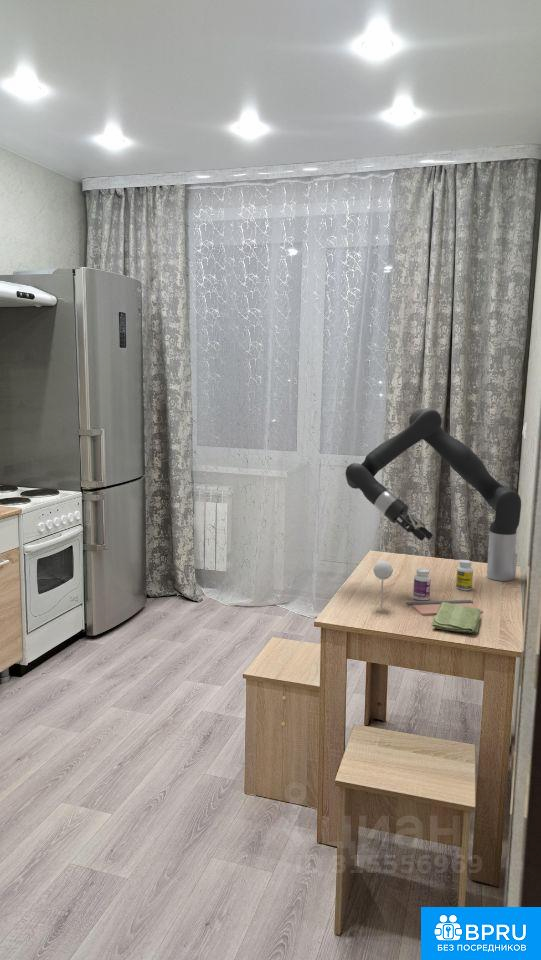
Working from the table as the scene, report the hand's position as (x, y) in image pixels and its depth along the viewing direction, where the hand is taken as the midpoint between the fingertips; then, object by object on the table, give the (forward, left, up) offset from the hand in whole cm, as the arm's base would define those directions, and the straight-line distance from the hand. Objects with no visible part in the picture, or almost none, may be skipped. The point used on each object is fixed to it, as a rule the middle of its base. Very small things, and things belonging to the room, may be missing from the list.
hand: (427, 538), depth 225 cm
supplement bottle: (-18, -8, -21) cm, 28 cm away
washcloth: (-1, +25, -20) cm, 32 cm away
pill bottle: (+1, +1, -21) cm, 21 cm away
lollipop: (+17, +8, -20) cm, 28 cm away
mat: (-3, +11, -20) cm, 23 cm away
